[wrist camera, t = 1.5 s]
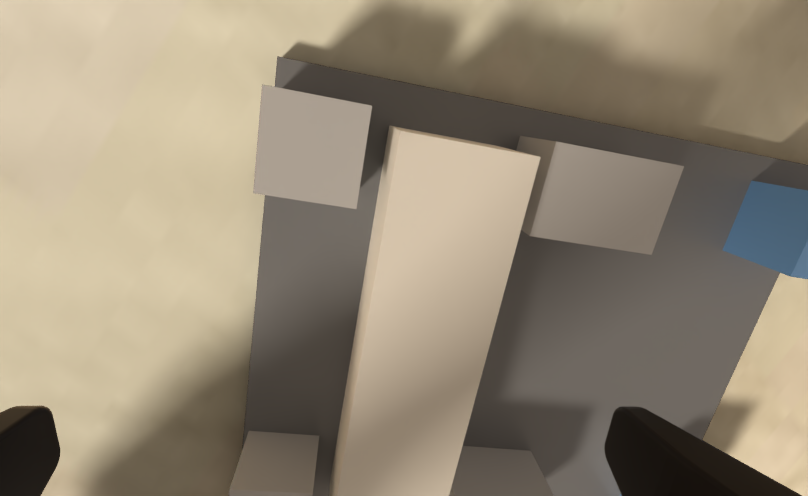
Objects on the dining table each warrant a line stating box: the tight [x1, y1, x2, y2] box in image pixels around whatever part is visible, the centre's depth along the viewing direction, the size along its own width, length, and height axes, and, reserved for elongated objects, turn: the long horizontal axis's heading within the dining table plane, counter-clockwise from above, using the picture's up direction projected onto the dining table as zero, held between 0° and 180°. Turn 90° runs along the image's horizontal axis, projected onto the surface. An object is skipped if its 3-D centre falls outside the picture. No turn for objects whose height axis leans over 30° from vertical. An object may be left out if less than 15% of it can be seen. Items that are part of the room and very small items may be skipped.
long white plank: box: [329, 126, 541, 496], centre depth 16 cm, size 16×4×4 cm, turn 169°
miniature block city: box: [229, 56, 808, 496], centre depth 17 cm, size 19×22×4 cm
